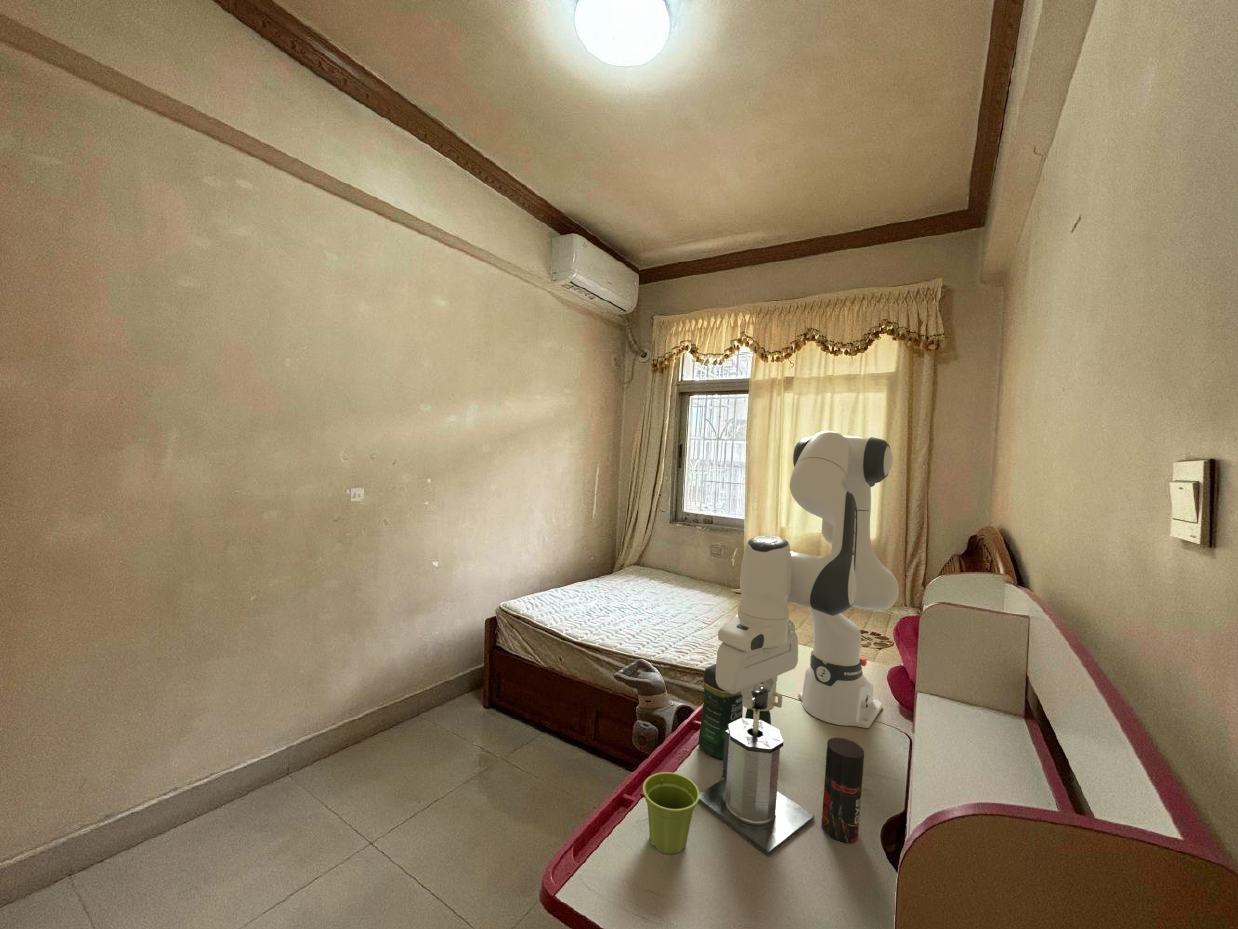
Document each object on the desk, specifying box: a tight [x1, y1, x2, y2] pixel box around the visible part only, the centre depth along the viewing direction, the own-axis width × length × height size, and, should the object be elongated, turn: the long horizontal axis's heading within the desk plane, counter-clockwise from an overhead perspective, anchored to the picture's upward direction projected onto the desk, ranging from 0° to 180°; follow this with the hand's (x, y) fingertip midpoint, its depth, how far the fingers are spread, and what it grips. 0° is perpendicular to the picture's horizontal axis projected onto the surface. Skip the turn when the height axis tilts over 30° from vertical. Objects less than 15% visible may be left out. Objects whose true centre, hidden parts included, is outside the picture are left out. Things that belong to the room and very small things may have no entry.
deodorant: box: [821, 737, 865, 845], centre depth 88 cm, size 6×6×15 cm
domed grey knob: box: [751, 687, 768, 737], centre depth 91 cm, size 4×4×14 cm
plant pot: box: [642, 771, 700, 855], centre depth 84 cm, size 9×9×9 cm
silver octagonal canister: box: [698, 717, 815, 857], centre depth 92 cm, size 14×16×15 cm
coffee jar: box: [698, 664, 744, 760], centre depth 111 cm, size 10×8×19 cm
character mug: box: [744, 682, 783, 726], centre depth 118 cm, size 11×7×13 cm, turn 48°
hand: (757, 702), depth 91 cm, fingers closed on domed grey knob, 4 cm apart
